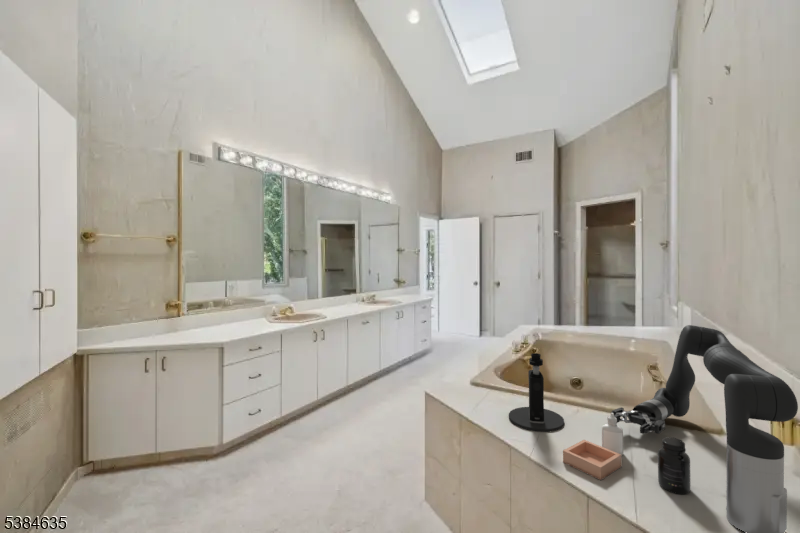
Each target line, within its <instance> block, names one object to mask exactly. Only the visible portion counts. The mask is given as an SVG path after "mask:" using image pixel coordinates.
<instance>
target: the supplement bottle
mask: <svg viewBox="0 0 800 533" xmlns="http://www.w3.org/2000/svg"><path fill="white" fill-rule="evenodd" d="M686 450H687V449H686V443H685V442H684V441H683V440H681V439H678V438H675V437H671V436H669V437H667V436H666V437H663V438H662V439H661V447H660V448H659V449H658V451H657V478H658V479H657V480H658V484H659V486H660V487H661V488H662V489H664V490H666V491H667V492H670V493H671V494H676V495H687V494H689V493H690V492H691V489H692V488H691V486H692V485H691V481H692V480H691V458H690V456H689V455H688V453H687V452H686Z"/></svg>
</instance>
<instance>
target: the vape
mask: <svg viewBox="0 0 800 533" xmlns="http://www.w3.org/2000/svg"><path fill="white" fill-rule="evenodd" d="M530 356H531V357H530V358H529V359H528V360H529V362H528V364H529V365H530V366H532V369H529V370H528V406H522V407H516V408H513V409H512V410H510V412H508V419H509V422H510V423H512V424H513V425H514V426H516V427H519V428H520V429H522V430H523V429H524V430H527V431H533V432H538V433H539V432H540V433H547V432H548V433H549V432H550V431H551V432H555V431H556V432H557V431H559V430H561V429H562V428H564V426H565V419H564V418H563V416H562V415H560V414H559V413H558V412H555V411H553V410H550V409H547V408H544V407H545V406H544V405H545V403H544V401H545V400H544V396H545V395H544V393H545V392H544V389H545V388H544V387H545V386H544V385H545V384H544V383H545V382H544V378H545V377H544V375H543V374H542V371H540V368H541V366H543V363H544V362H543V359H542V358H541V357H542V356H541V353H537V352H534V353H530Z"/></svg>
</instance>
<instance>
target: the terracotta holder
mask: <svg viewBox="0 0 800 533" xmlns="http://www.w3.org/2000/svg"><path fill="white" fill-rule="evenodd" d="M563 462H564V464H566V465H568V466H570V467H572V468H574V469H576V470H578V471H580V472H582V473H585V474H586V475H589V476H591V477H593V478H594V479H598V480H600V481H602V480H604V479H605V478H607V477H608V476H609V475H611V474H613V473H614V472H616V471H617V470H619V469H620V468H621V467H622V455H621V454H619V453H616V452H614V451H611V450H609V449H606V448H604V447H602V445H599V444H596V443H593V442H592V441H589V440H586V439H582V440H581V441H579V442H576V443H574V444H573V445H571V446H569V447H567V448H565V449H563V450H562V463H563Z"/></svg>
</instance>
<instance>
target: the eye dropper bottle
mask: <svg viewBox="0 0 800 533" xmlns="http://www.w3.org/2000/svg"><path fill="white" fill-rule="evenodd" d="M601 447H604V448H606V449H609V450H611V451H614V452H616V453H619V454H621V456H623V455H624V430H623V428H622V427H621V426H619V425H618V423H617V418H616V417H614V413H612V412H610V415H609V416H607V423H605V424H602V427H601Z"/></svg>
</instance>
